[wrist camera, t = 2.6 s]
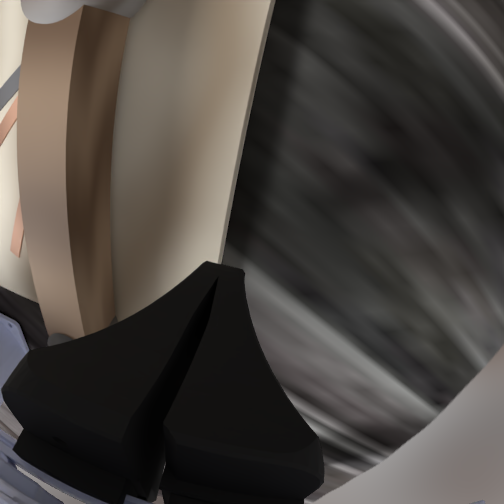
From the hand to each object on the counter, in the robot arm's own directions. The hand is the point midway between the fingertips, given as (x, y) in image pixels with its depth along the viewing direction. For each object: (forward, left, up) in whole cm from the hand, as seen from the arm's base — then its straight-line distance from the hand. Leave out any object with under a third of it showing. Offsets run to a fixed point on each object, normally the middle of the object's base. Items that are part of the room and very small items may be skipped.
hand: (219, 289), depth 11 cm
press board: (-11, +3, -4) cm, 12 cm away
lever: (-7, +3, -2) cm, 7 cm away
